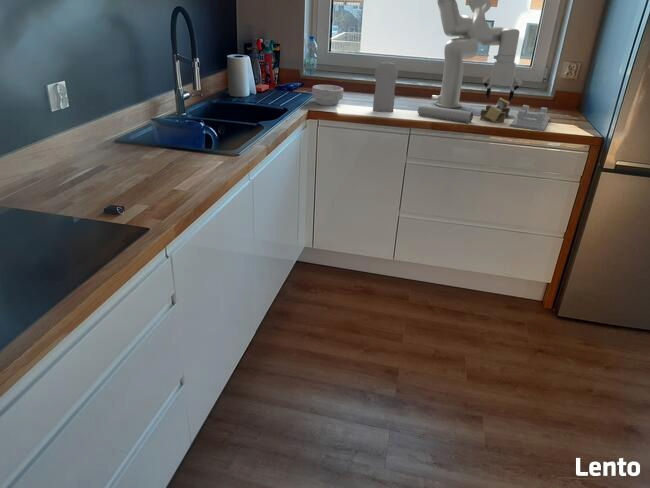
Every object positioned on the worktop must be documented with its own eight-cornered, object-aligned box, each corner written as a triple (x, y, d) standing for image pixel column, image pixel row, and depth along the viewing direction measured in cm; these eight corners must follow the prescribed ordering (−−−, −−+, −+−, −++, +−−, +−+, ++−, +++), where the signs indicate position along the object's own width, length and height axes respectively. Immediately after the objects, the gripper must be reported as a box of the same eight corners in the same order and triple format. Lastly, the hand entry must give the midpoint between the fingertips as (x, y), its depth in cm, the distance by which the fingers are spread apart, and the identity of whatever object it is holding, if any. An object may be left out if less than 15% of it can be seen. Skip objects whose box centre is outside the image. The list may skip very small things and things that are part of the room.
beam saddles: (479, 119, 231) (481, 110, 229) (486, 113, 243) (487, 104, 241) (503, 122, 227) (504, 113, 225) (508, 116, 239) (510, 107, 237)
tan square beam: (484, 116, 225) (490, 106, 222) (494, 106, 244) (500, 97, 242) (494, 121, 224) (500, 111, 221) (503, 111, 243) (509, 102, 241)
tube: (415, 107, 231) (469, 115, 220) (420, 101, 234) (473, 109, 223) (415, 117, 235) (468, 126, 223) (420, 112, 238) (472, 120, 226)
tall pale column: (372, 111, 236) (376, 62, 226) (371, 109, 240) (375, 61, 230) (394, 112, 237) (399, 63, 227) (393, 110, 241) (398, 61, 230)
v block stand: (509, 126, 221) (512, 112, 218) (518, 115, 242) (521, 102, 239) (543, 131, 216) (547, 117, 213) (549, 119, 237) (552, 106, 234)
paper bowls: (348, 103, 251) (349, 86, 247) (332, 108, 239) (332, 91, 236) (322, 99, 258) (323, 82, 254) (305, 103, 247) (305, 87, 243)
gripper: (484, 58, 223) (478, 98, 231) (525, 61, 217) (517, 102, 224) (487, 57, 229) (481, 95, 237) (527, 59, 223) (519, 99, 230)
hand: (498, 98), depth 231 cm, fingers open, 9 cm apart
